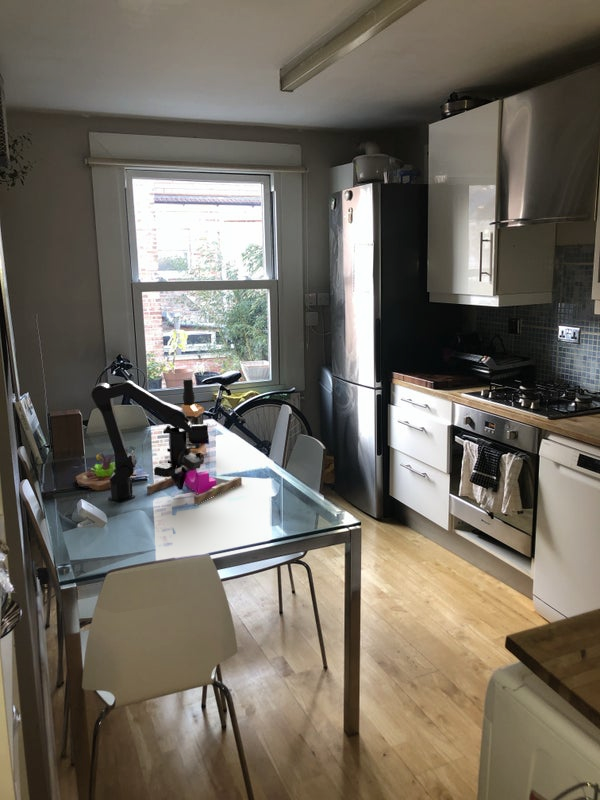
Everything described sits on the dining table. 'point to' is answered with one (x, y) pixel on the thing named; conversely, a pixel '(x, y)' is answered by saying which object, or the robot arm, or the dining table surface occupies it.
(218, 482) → the trap mat
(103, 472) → the plant
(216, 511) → the dining table surface
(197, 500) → the lane rails
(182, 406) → the whiskey bottle
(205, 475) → the toy block
